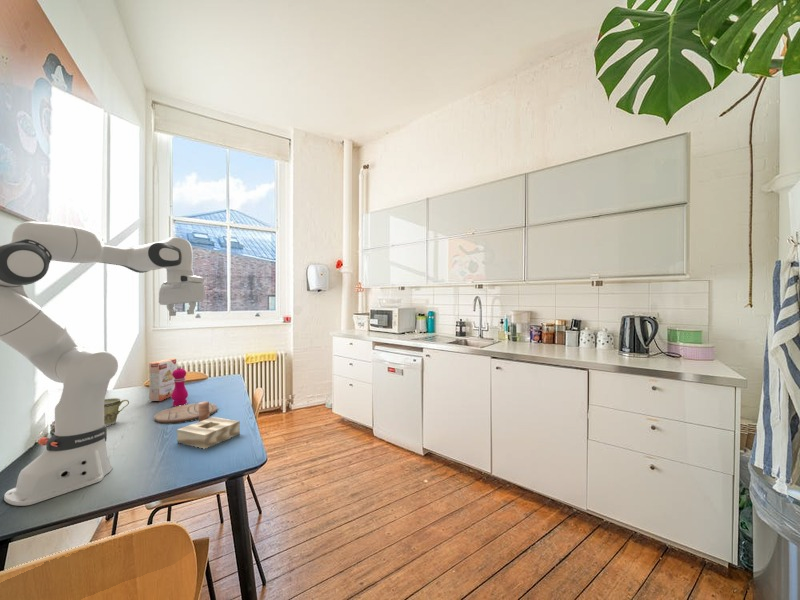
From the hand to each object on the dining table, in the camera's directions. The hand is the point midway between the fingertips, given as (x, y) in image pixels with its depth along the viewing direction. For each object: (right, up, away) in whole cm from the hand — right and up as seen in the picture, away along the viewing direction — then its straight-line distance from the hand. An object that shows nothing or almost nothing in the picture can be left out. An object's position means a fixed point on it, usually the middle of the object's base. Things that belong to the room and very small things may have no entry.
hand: (181, 315), depth 134 cm
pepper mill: (-29, -48, +44) cm, 72 cm away
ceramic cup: (-42, -49, +18) cm, 67 cm away
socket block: (+12, -47, -1) cm, 49 cm away
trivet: (-15, -48, +28) cm, 58 cm away
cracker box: (-46, -49, +56) cm, 87 cm away
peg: (+2, -48, +12) cm, 49 cm away
